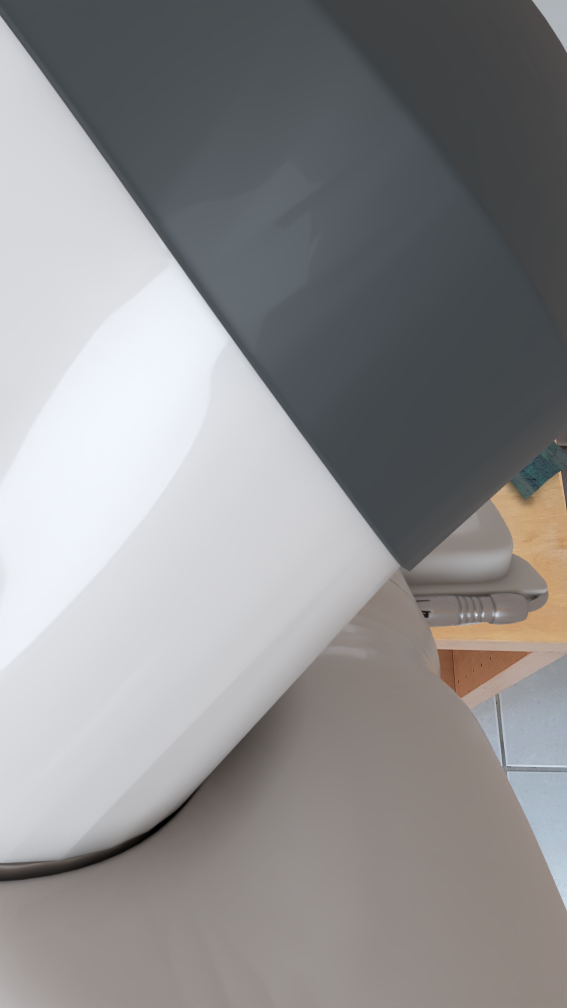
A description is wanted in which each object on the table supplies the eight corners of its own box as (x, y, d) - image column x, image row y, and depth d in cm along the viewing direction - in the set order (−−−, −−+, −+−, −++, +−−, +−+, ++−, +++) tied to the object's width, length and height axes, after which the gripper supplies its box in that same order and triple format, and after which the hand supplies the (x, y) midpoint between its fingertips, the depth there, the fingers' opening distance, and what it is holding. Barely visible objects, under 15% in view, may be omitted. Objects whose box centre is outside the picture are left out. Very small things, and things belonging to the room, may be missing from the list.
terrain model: (511, 371, 72) (503, 379, 73) (460, 400, 69) (454, 408, 71) (583, 461, 69) (573, 467, 71) (533, 495, 67) (524, 500, 68)
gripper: (589, 537, 22) (453, 421, 34) (-33, 552, 20) (65, 423, 32) (553, 684, 24) (438, 526, 37) (-1, 710, 22) (79, 533, 35)
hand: (261, 478), depth 34 cm, fingers open, 8 cm apart
